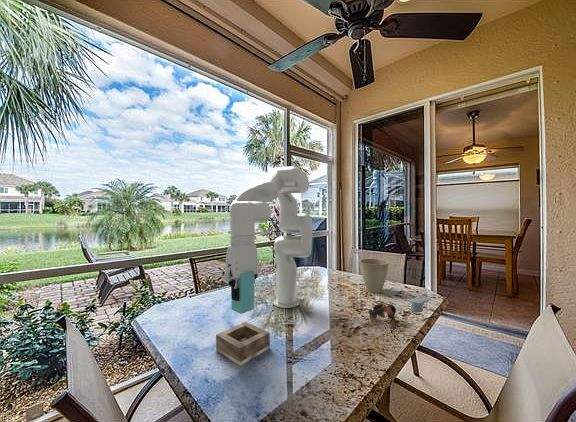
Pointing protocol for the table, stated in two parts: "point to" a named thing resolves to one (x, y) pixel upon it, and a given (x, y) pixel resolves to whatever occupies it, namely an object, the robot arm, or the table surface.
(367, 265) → the plant pot
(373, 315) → the brown toy animal
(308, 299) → the table surface
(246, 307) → the teal block
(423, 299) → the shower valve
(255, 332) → the walnut well
